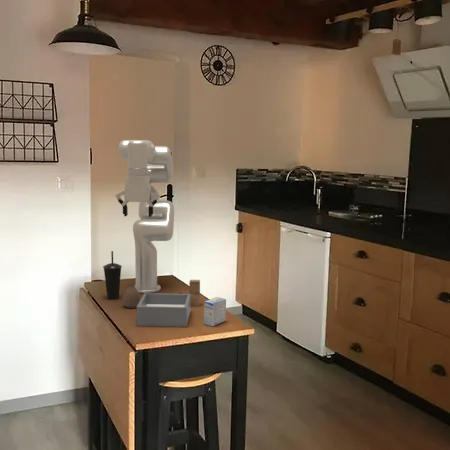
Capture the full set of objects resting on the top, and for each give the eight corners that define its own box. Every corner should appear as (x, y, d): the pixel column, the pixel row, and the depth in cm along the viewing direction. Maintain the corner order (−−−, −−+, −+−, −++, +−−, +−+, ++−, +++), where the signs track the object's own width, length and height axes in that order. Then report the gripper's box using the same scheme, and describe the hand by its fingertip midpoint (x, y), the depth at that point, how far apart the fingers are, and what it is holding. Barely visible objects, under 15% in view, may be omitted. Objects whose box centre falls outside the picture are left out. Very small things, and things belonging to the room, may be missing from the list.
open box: (144, 310, 221) (144, 293, 220) (190, 311, 221) (190, 294, 220) (136, 325, 203) (136, 306, 202) (186, 326, 203) (186, 307, 202)
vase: (141, 304, 230) (141, 283, 228) (139, 309, 223) (139, 287, 221) (124, 304, 229) (123, 283, 228) (121, 309, 223) (121, 287, 221)
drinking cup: (106, 295, 242) (105, 249, 239) (123, 295, 242) (123, 249, 239) (101, 300, 234) (100, 253, 231) (120, 300, 234) (119, 253, 231)
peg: (190, 303, 232) (190, 279, 230) (199, 303, 232) (199, 279, 230) (189, 306, 228) (189, 282, 226) (199, 306, 228) (199, 282, 226)
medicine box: (216, 318, 212) (216, 296, 211) (226, 321, 210) (226, 298, 208) (203, 324, 206) (203, 301, 205) (213, 326, 203) (213, 303, 202)
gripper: (161, 172, 224) (161, 215, 226) (117, 171, 224) (118, 214, 227) (158, 173, 216) (158, 217, 219) (113, 172, 217) (114, 217, 219)
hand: (138, 216), depth 223 cm, fingers open, 9 cm apart
